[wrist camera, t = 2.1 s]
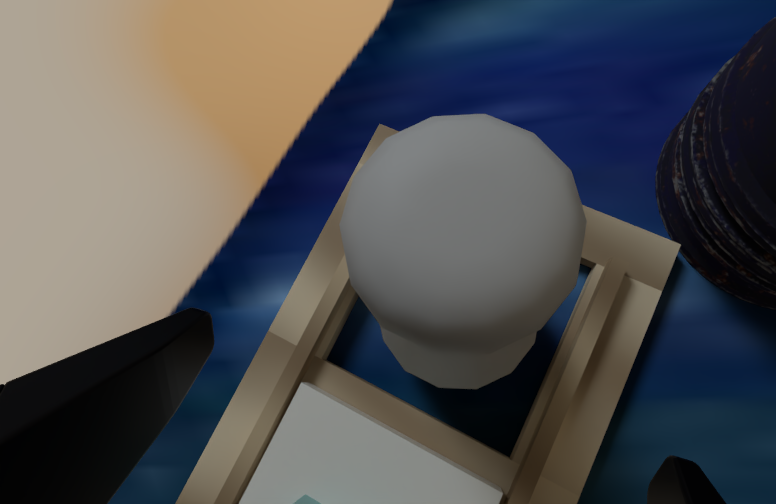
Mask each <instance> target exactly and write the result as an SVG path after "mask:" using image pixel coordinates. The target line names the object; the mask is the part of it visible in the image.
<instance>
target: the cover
mask: <svg viewBox="0 0 776 504" xmlns="http://www.w3.org/2000/svg"><path fill="white" fill-rule="evenodd" d="M502 495H503V492H502V490H501V487H499V486H497V485H495V484H493V483H491V482H490V481H488V480H486V479H484V478H482V477H481V476H479V475H477V474H475V473H473V472H471V471H470V470H468V469H466V468H464V467H462V466H461V465H459V464H457V463H455V462H453V461H451V460H450V459H448V458H446V457H444V456H442V455H440V454H439V453H437V452H435V451H433V450H431V449H430V448H428V447H426V446H424V445H422V444H420V443H419V442H417V441H415V440H413V439H411V438H409V437H408V436H406V435H404V434H402V433H400V432H399V431H397V430H395V429H393V428H391V427H389V426H388V425H386V424H384V423H382V422H380V421H378V420H377V419H375V418H373V417H371V416H369V415H368V414H366V413H364V412H362V411H360V410H358V409H357V408H355V407H353V406H351V405H349V404H347V403H346V402H344V401H342V400H340V399H338V398H337V397H335V396H333V395H331V394H329V393H327V392H326V391H324V390H322V389H320V388H318V387H317V386H315V385H313V384H311V383H309V382H301V384H300V386H299V388H298V390H297V392H296V394H295V396H294V398H293V400H292V401H291V403H290V405H289V407H288V409H287V411H286V413H285V415H284V417H283V419H282V421H281V423H280V425H279V427H278V429H277V431H276V432H275V434H274V436H273V438H272V440H271V442H270V444H269V446H268V448H267V450H266V452H265V454H264V456H263V458H262V460H261V462H260V463H259V465H258V467H257V469H256V471H255V473H254V475H253V477H252V479H251V481H250V483H249V485H248V487H247V489H246V491H245V493H244V494H243V496H242V498H241V500H240V502H239V504H499V502H500V500H501V498H502Z"/></svg>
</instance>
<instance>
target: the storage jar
mask: <svg viewBox="0 0 776 504" xmlns="http://www.w3.org/2000/svg"><path fill="white" fill-rule="evenodd" d="M655 179H656V198H657V203H658V208H659V213H660V215H661V218H662V221H663V223H664V226H665V229H666V231H667V232H668V234H669V236H670V238H671V239H672V241H674V242H676V243H679V244H681V246H680V248H679V251H680V252H681V254H682V255H683V256H684V258H685V259H686V260H687V261H688V262H689V263H690V264H691V265H692V266H693V267H694V268H695V269H696V270H697V271H698V272H699V273H700V274H701V275H702V276H704V277H705V278H706V279H708V280H709V281H711V282H712V283H713V284H715V285H716V286H718V287H719V288H720V289H722V290H724V291H726V292H728V293H730V294H732V295H734V296H736V297H737V298H739V299H742V300H744V301H747V302H750V303H753V304H755V305H758V306H761V307H765V308H769V309H774V310H776V17H775V18H773V19H772V20H771V21H769V22H768V23H767V24H766V25H765V26H763V27H762V28H761V29H760V30H759V31H758V32H756V33H755V34H754V35H753V37H752V38H751V39H750V40H749V41H748V42H747V43H746V44H745V45H744V46H743V47H742V49H741V50H740V51H739V52H738V53H737V54H736V55H735V56H734V57H733V58H732V59H730V60H729V61H728V62H727V63H726V64H725V65H724V66H723V67H722V68H721V69H720V71H719V72H718V73H717V74H716V75H715V76H714V78H713V79H712V80H711V81H710V82H709V83H708V85H707V86H706V87H705V88H704V89H703V91H702V92H701V93H700V94H699V95H698V97H697V99H696V101H695V102H694V104H693V106H692V108H691V109H690V110H689V111H688V113H687V114H686V115H685V116H684V117H683V118H682V120H681V121H680V122H679V123H678V124H677V125H676V127H675V128H674V129H673V130H672V132H671V133H670V135H669V137H668V139H667V140H666V142H665V144H664V146H663V149H662V151H661V154H660V157H659V160H658V165H657V171H656V177H655Z"/></svg>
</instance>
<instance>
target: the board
mask: <svg viewBox="0 0 776 504" xmlns="http://www.w3.org/2000/svg"><path fill="white" fill-rule="evenodd" d="M398 132H399V131H396V130H394V129H391V128H389V127H386V126H384V125H381V124H379V126H378V128H377V130H376V132H375V133H374V135H373V137H372V139H371V141H370V143H369V145H368V146H367V148H366V150H365V152H364V154H363V156H362V158H361V159H360V161H359V163H358V165H357V167H356V169H355V171H354V172H353V174H352V176H351V178H350V180H349V182H348V184H347V186H346V187H345V189H344V191H343V193H342V195H341V197H340V199H339V200H338V202H337V204H336V206H335V208H334V210H333V212H332V213H331V215H330V217H329V219H328V221H327V223H326V225H325V226H324V228H323V230H322V232H321V234H320V236H319V238H318V239H317V241H316V243H315V245H314V247H313V249H312V251H311V253H310V254H309V256H308V258H307V260H306V262H305V264H304V266H303V267H302V269H301V271H300V273H299V275H298V277H297V279H296V280H295V282H294V284H293V286H292V288H291V290H290V292H289V293H288V295H287V297H286V299H285V301H284V303H283V305H282V306H281V308H280V310H279V312H278V314H277V316H276V318H275V320H274V321H273V323H272V325H271V327H270V329H269V331H268V333H267V334H266V336H265V338H264V340H263V342H262V344H261V346H260V347H259V349H258V351H257V353H256V355H255V357H254V359H253V360H252V362H251V364H250V366H249V368H248V370H247V372H246V373H245V375H244V377H243V379H242V381H241V383H240V385H239V386H238V388H237V390H236V392H235V394H234V396H233V398H232V400H231V401H230V403H229V405H228V407H227V409H226V411H225V413H224V414H223V416H222V418H221V420H220V422H219V424H218V426H217V427H216V429H215V431H214V433H213V435H212V437H211V439H210V440H209V442H208V444H207V446H206V448H205V450H204V452H203V453H202V455H201V457H200V459H199V461H198V463H197V465H196V467H195V468H194V470H193V472H192V474H191V476H190V478H189V480H188V481H187V483H186V485H185V487H184V489H183V491H182V493H181V494H180V496H179V498H178V500H177V502H176V504H239V502H240V500H241V498H242V496H243V494H244V493H245V491H246V489H247V487H248V485H249V483H250V481H251V479H252V477H253V475H254V473H255V471H256V469H257V467H258V465H259V463H260V462H261V460H262V458H263V456H264V454H265V452H266V450H267V448H268V446H269V444H270V442H271V440H272V438H273V436H274V434H275V432H276V431H277V429H278V427H279V425H280V423H281V421H282V419H283V417H284V415H285V413H286V411H287V409H288V407H289V405H290V403H291V401H292V400H293V398H294V396H295V394H296V392H297V390H298V388H299V386H300V384H301V382H309V383H311V384H313V385H315V386H317V387H318V388H320V389H322V390H324V391H326V392H327V393H329V394H331V395H333V396H335V397H337V398H338V399H340V400H342V401H344V402H346V403H347V404H349V405H351V406H353V407H355V408H357V409H358V410H360V411H362V412H364V413H366V414H368V415H369V416H371V417H373V418H375V419H377V420H378V421H380V422H382V423H384V424H386V425H388V426H389V427H391V428H393V429H395V430H397V431H399V432H400V433H402V434H404V435H406V436H408V437H409V438H411V439H413V440H415V441H417V442H419V443H420V444H422V445H424V446H426V447H428V448H430V449H431V450H433V451H435V452H437V453H439V454H440V455H442V456H444V457H446V458H448V459H450V460H451V461H453V462H455V463H457V464H459V465H461V466H462V467H464V468H466V469H468V470H470V471H471V472H473V473H475V474H477V475H479V476H481V477H482V478H484V479H486V480H488V481H490V482H491V483H493V484H495V485H497V486H499V487H501V490H502V492H503V495H502V498H501V500H500V502H499V504H577V502H578V499H579V497H580V494H581V492H582V489H583V487H584V484H585V482H586V480H587V477H588V475H589V472H590V470H591V467H592V465H593V462H594V460H595V457H596V455H597V452H598V450H599V447H600V445H601V442H602V440H603V437H604V435H605V432H606V430H607V427H608V425H609V422H610V420H611V417H612V415H613V412H614V410H615V407H616V405H617V403H618V400H619V398H620V395H621V393H622V390H623V388H624V385H625V383H626V380H627V378H628V375H629V373H630V370H631V368H632V365H633V363H634V360H635V358H636V355H637V353H638V350H639V348H640V345H641V343H642V340H643V338H644V335H645V333H646V330H647V328H648V325H649V323H650V321H651V318H652V316H653V313H654V311H655V308H656V306H657V303H658V301H659V298H660V296H661V293H662V291H663V288H664V286H665V283H666V281H667V278H668V276H669V273H670V271H671V268H672V266H673V263H674V261H675V258H676V256H677V253H678V251H679V248H680V246H681V244H679V243H676V242H674V241H671V240H669V239H666V238H664V237H661V236H659V235H656V234H654V233H651V232H649V231H646V230H644V229H641V228H639V227H636V226H634V225H631V224H629V223H626V222H624V221H621V220H619V219H616V218H614V217H611V216H609V215H606V214H604V213H601V212H599V211H596V210H594V209H591V208H589V207H586V206H584V205H582V207H583V210H584V214H585V217H586V220H587V224H586V230H585V236H584V242H583V248H582V254H581V261H580V263H581V264H583V265H585V266H588V267H590V268H591V270H590V273H589V275H588V277H587V280H586V282H585V284H584V287H583V289H582V291H581V294H580V296H579V298H578V301H577V303H576V305H575V307H574V310H573V312H572V314H571V317H570V319H569V321H568V324H567V326H566V328H565V331H564V333H563V335H562V338H561V340H560V342H559V345H558V347H557V349H556V351H555V354H554V356H553V358H552V361H551V363H550V365H549V368H548V370H547V372H546V375H545V377H544V379H543V382H542V384H541V386H540V389H539V391H538V393H537V395H536V398H535V400H534V402H533V405H532V407H531V409H530V412H529V414H528V416H527V419H526V421H525V423H524V426H523V428H522V430H521V433H520V435H519V437H518V440H517V442H516V444H515V446H514V449H513V451H512V453H511V456H510V457H508V456H506V455H504V454H502V453H501V452H499V451H497V450H495V449H493V448H491V447H489V446H487V445H486V444H484V443H482V442H480V441H478V440H476V439H474V438H472V437H470V436H469V435H467V434H465V433H463V432H461V431H459V430H457V429H455V428H454V427H452V426H450V425H448V424H446V423H444V422H442V421H440V420H439V419H437V418H435V417H433V416H431V415H429V414H427V413H425V412H424V411H422V410H420V409H418V408H416V407H414V406H412V405H410V404H408V403H407V402H405V401H403V400H401V399H399V398H397V397H395V396H393V395H392V394H390V393H388V392H386V391H384V390H382V389H380V388H378V387H377V386H375V385H373V384H371V383H369V382H367V381H365V380H363V379H362V378H360V377H358V376H356V375H354V374H352V373H350V372H348V371H346V370H345V369H343V368H341V367H339V366H337V365H335V364H333V363H331V362H330V361H328V360H326V359H327V357H328V355H329V353H330V351H331V349H332V348H333V346H334V344H335V342H336V340H337V338H338V336H339V334H340V332H341V330H342V328H343V326H344V324H345V322H346V320H347V318H348V316H349V314H350V312H351V310H352V308H353V306H354V305H355V303H356V301H357V299H358V297H359V295H358V294H357V293H356V291H355V290H354V289H353V287H352V286H351V283H350V278H349V272H348V267H347V262H346V257H345V252H344V247H343V242H342V237H341V231H340V226H339V224H340V221H341V218H342V214H343V211H344V208H345V204H346V201H347V197H348V194H349V191H350V187H351V184H352V181H353V177H354V176H355V174H356V173H357V172H358V171H359V170H360V169H361V167H362V166H363V165H364V164H365V163H366V161H367V160H368V159H369V158H370V157H371V156H372V154H373V153H374V152H375V151H376V150H377V148H378V147H379V146H380V145H381V144H382V143H383V141H384V140H385V139H386V138H388V137H390V136H392V135H394V134H396V133H398Z"/></svg>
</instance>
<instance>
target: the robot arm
mask: <svg viewBox="0 0 776 504" xmlns="http://www.w3.org/2000/svg"><path fill="white" fill-rule="evenodd" d="M213 346H214V334H213V324H212V317H211V315H210V313H208V312H206V311H203V310H200V309H197V308H188V309H186V310H183V311H181V312H178V313H176V314H173V315H171V316H168V317H166V318H163V319H161V320H159V321H156V322H154V323H151V324H149V325H147V326H144V327H141V328H139V329H137V330H134V331H132V332H129V333H127V334H124V335H122V336H119V337H117V338H114V339H112V340H110V341H107V342H105V343H103V344H100V345H97V346H95V347H92V348H90V349H87V350H85V351H82V352H80V353H78V354H75V355H73V356H70V357H68V358H65V359H63V360H60V361H58V362H56V363H53V364H51V365H48V366H46V367H43V368H41V369H38V370H36V371H33V372H31V373H28V374H26V375H24V376H21V377H19V378H16V379H14V380H12V381H9V382H7V383H6V384H5V385H4V384H1V385H0V504H107V503H108V502H109V501H110V499H111V498H112V497H113V495H114V494H115V493H116V491H117V490H118V489H119V487H120V486H121V485H122V483H123V482H124V481H125V479H126V478H127V477H128V475H129V474H130V473H131V471H132V470H133V469H134V467H135V466H136V465H137V463H138V462H139V461H140V459H141V458H142V457H143V455H144V454H145V453H146V451H147V450H148V449H149V447H150V446H151V445H152V443H153V442H154V441H155V439H156V438H157V437H158V435H159V434H160V433H161V431H162V430H163V429H164V427H165V426H166V425H167V423H168V422H169V420H170V419H171V418H172V416H173V415H174V413H175V412H176V410H177V409H178V407H179V406H180V404H181V402H182V401H183V399H184V397H185V396H186V394H187V392H188V391H189V389H190V387H191V386H192V384H193V382H194V381H195V379H196V377H197V376H198V374H199V372H200V371H201V369H202V367H203V365H204V364H205V362H206V360H207V359H208V357H209V355H210V354H211V352H212V350H213ZM647 504H726V503H725V501H724V500H723V498H722V497H721V496H720V494H719V493H718V492H717V490H716V489H715V488H714V486H713V485H712V483H711V482H710V481H709V479H708V478H707V477H706V475H705V474H704V472H703V471H702V470H701V468H700V467H699V466H698V465H697V464H696V463H694V462H693V461H690V460H687V459H683V458H680V457H677V456H669V457H667V458H666V459H665V461H664V462H663V464H662V465H661V467H660V468H659V470H658V471H657V473H656V474H655V476H654V477H653V479H652V480H651V482H650V484H649V488H648V495H647Z"/></svg>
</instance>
